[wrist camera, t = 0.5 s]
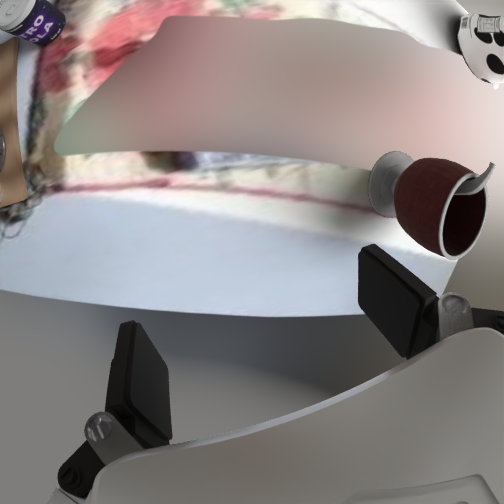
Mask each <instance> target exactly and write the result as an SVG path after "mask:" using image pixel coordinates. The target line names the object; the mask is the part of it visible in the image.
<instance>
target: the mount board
mask: <svg viewBox="0 0 504 504" xmlns="http://www.w3.org/2000/svg"><path fill="white" fill-rule="evenodd" d="M18 47H19V38H16V37H14V38H12V39H10V40H8V41H6V42H5V43H3V44H1V45H0V129H1V130H2V132H3V135H4V138H5V143H6V156H5V162H4V165H3V168H2V171H1V173H0V186H1V191H2V196H3V201H1V202H0V208H1V207H4V206H7V205H10V204H13V203H17V202H20V201H23V200H25V199H27V198H28V193H27V189H26V183H25V178H24V172H23V166H22V160H21V152H20V144H19V134H18V122H17V99H16V82H17V59H18Z"/></svg>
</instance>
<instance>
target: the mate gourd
mask: <svg viewBox="0 0 504 504" xmlns="http://www.w3.org/2000/svg"><path fill="white" fill-rule="evenodd" d="M494 168H495V164H493V163H491V162H490V164H489V167H488V168H487V170H486V171H485V172H484V173H483V174H481V175H478V174H476V173H474V172H473V171H471V170H469V169H468V168H466V167H464V166H462V165H460V164H458V163H456V162H452V161H449V160H446V159H438V158H423V159H419V160H417V161H415V162H414V160H413V159H412V158H411V157H410V156H409V155H407V154H406V153H403V152H400V151H393V152H389V153H386V154H385V155H383V156H382V157H381V158H380V159H379V160H378V161H377V162H376V164H375V165H374V167H373V169H372V171H371V174H370V177H369V182H368V195H369V199H370V202H371V205H372V207H373V208H374V209H375V211H376V212H378V213H379V214H380V215H382V216H384V217H388V218H393V217H397V219H398V222H399V224H400V225H401V227H402V228H403V229H404V231H405V232H406V233H407V234H408V235H409V236H410V237H412V238H413V239H414V240H415V241H416V242H417V243H418V244H420V245H421V246H423V247H424V248H426V249H427V250H429V251H431V252H434V253H436V254H438V255H440V256H443V257H446V258H447V259H449V260H457V259H459V258H461V257H463V256H464V255H465V254H466V253H468V252H469V251H470V249H471V248H472V247H473V246H474V244H475V243H476V241H477V239H478V237H479V235H480V233H481V231H482V229H483V226H484V223H485V220H486V215H487V209H488V193H487V187H486V183H487V181H488V180H489V178H490V176H491V174H492V172H493V169H494Z"/></svg>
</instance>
